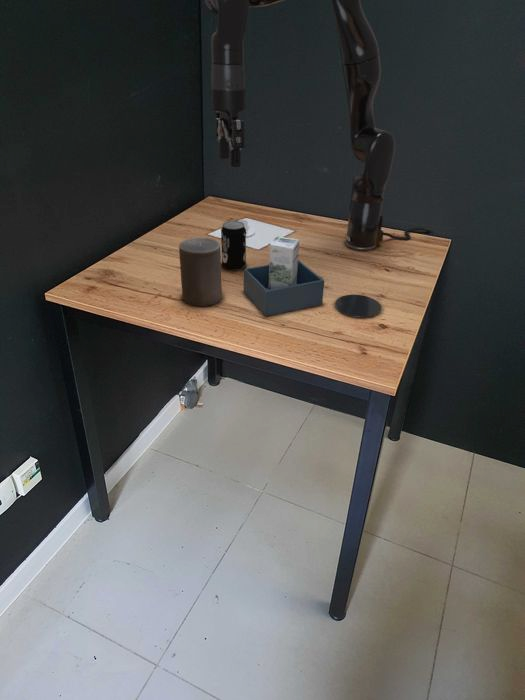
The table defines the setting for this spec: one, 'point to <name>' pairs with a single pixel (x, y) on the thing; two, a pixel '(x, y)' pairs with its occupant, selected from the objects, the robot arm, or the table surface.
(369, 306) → the coaster
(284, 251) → the syrup box
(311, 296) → the bin
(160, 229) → the table surface
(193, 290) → the pillar candle
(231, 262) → the beverage can
